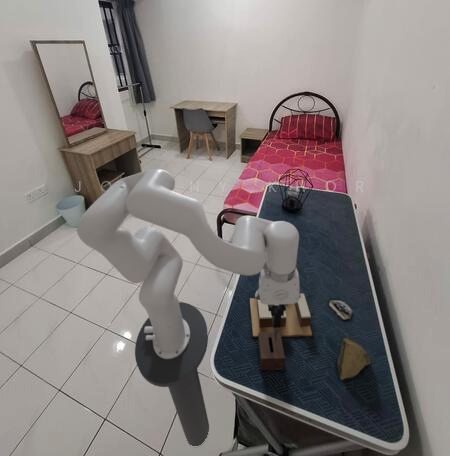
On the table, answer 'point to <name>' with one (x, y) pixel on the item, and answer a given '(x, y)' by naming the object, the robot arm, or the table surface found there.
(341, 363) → the rock
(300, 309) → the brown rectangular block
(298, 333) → the board
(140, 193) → the robot arm
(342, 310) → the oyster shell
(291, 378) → the table surface
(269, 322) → the cake loaf
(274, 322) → the knife
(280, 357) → the knife block
